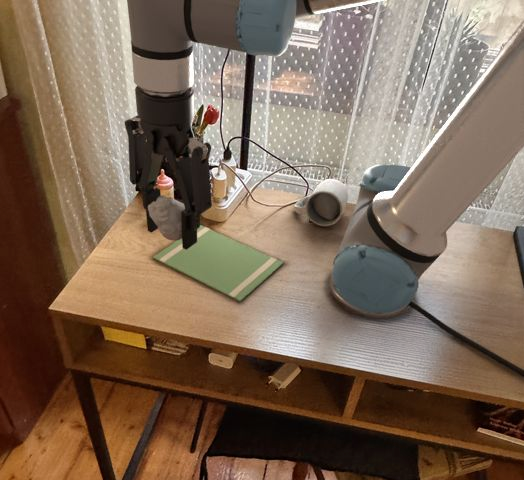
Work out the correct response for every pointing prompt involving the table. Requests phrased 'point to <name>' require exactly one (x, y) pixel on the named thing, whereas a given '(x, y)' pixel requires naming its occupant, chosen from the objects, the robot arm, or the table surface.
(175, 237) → the grey lumpy lump
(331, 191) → the ceramic mug
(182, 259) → the tea towel
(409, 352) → the table surface
